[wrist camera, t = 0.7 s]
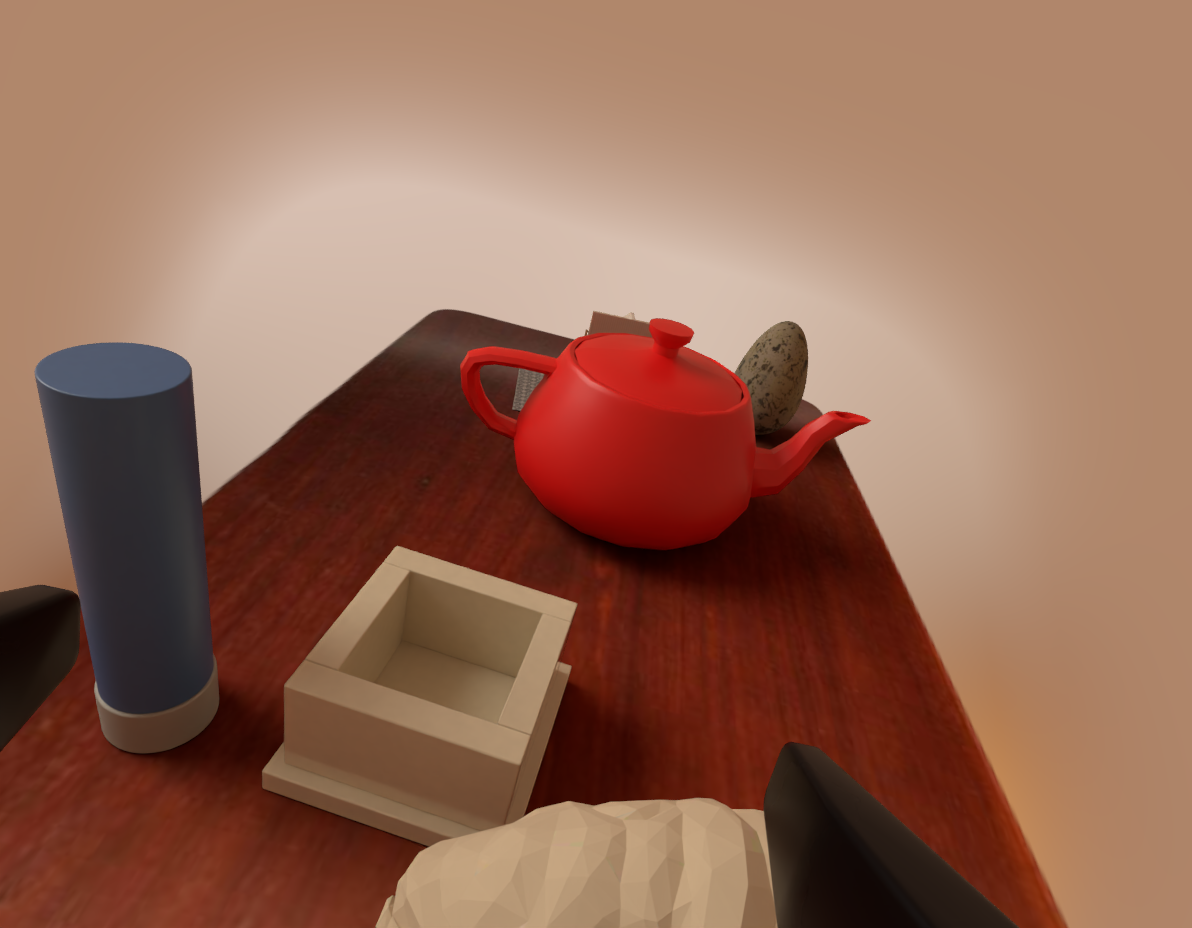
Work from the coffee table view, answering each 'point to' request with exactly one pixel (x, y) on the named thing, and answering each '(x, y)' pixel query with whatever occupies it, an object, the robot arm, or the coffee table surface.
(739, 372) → the decorative egg
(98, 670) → the cylinder
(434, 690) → the holder
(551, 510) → the teapot
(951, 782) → the coffee table surface
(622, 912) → the model
